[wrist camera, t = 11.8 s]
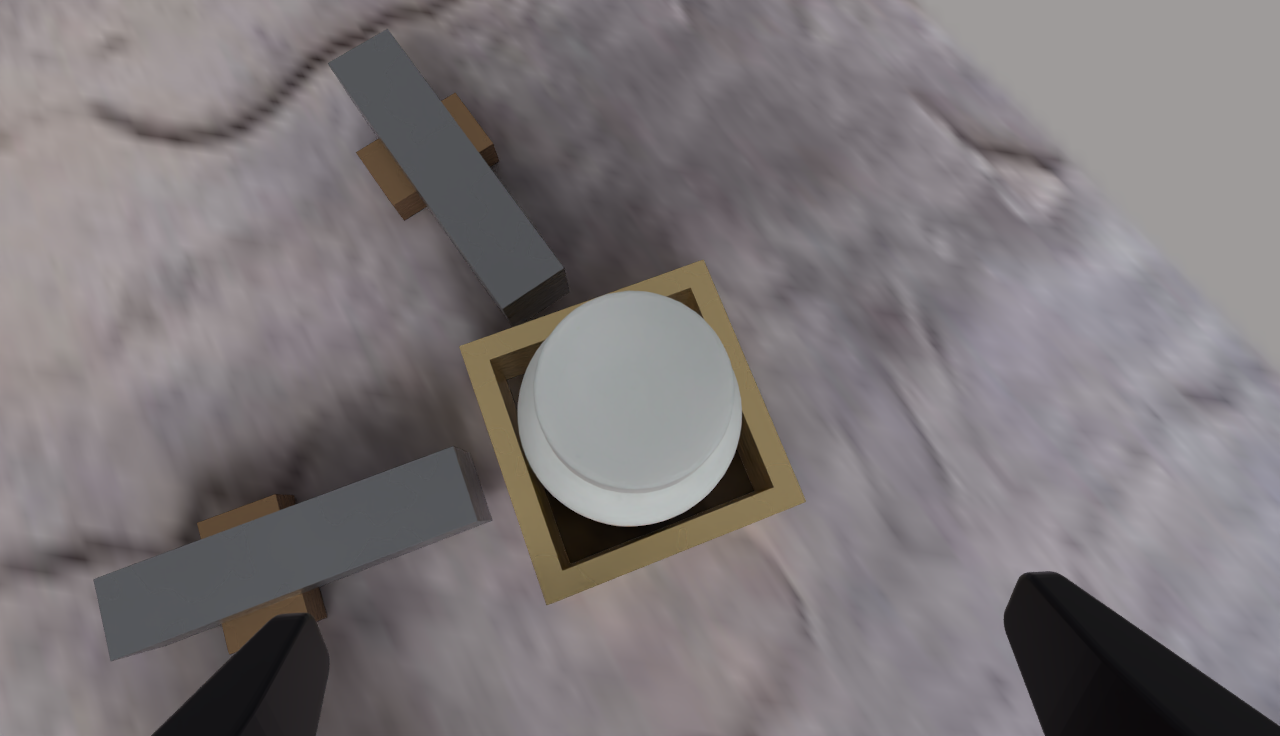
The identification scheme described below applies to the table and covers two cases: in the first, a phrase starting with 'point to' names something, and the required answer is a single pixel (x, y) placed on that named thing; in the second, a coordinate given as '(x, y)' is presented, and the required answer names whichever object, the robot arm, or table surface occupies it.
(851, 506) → the table surface
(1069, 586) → the robot arm
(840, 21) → the table surface
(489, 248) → the wooden box with ramps
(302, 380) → the table surface
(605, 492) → the supplement bottle
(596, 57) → the table surface
